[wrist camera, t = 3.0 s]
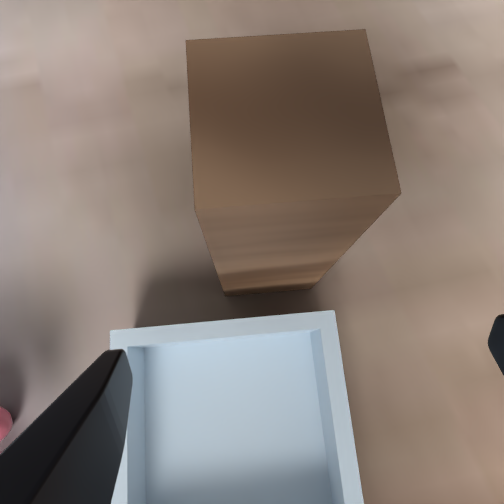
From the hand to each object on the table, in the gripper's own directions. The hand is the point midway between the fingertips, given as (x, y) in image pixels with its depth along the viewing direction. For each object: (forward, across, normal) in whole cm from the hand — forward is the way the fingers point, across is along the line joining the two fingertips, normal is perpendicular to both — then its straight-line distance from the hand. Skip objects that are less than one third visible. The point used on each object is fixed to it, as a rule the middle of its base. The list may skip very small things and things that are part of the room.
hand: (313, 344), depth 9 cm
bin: (+6, +3, +11) cm, 13 cm away
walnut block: (+13, 0, +4) cm, 13 cm away
